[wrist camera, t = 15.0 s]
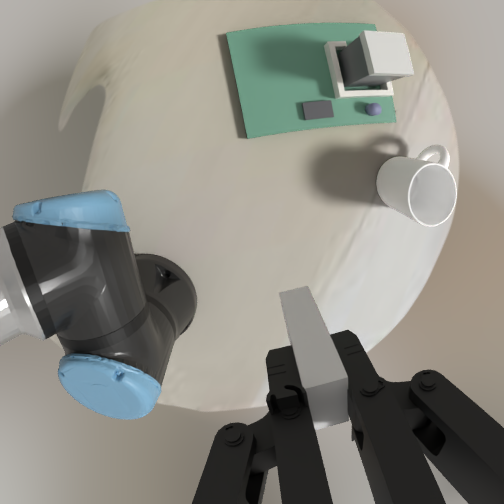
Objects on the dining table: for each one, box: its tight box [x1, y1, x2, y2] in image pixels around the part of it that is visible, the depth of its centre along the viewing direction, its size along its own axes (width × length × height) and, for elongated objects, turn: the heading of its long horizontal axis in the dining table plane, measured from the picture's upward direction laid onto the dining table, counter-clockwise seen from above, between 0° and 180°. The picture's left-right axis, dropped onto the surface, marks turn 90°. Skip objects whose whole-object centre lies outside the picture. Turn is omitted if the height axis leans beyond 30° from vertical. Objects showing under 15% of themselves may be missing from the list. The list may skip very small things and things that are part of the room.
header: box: [324, 41, 394, 99], centre depth 33 cm, size 8×8×2 cm
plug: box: [337, 30, 414, 87], centre depth 28 cm, size 5×6×11 cm
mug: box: [376, 145, 457, 227], centre depth 35 cm, size 12×8×10 cm
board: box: [226, 23, 396, 139], centre depth 34 cm, size 22×16×3 cm
